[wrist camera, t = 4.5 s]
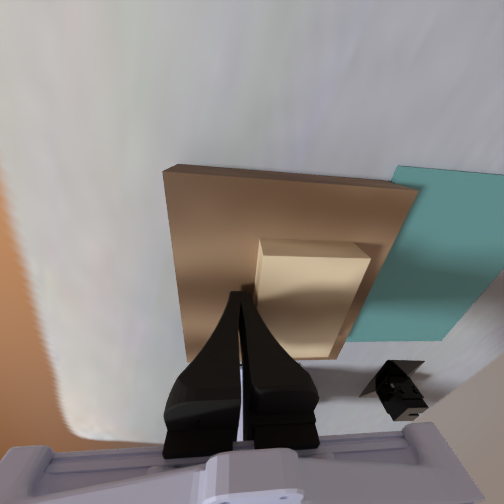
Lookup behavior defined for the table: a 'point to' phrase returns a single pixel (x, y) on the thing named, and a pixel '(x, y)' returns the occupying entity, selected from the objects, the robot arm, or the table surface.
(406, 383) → the black slotted bracket
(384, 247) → the walnut board
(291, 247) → the beech tile
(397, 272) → the teal mat
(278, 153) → the table surface
